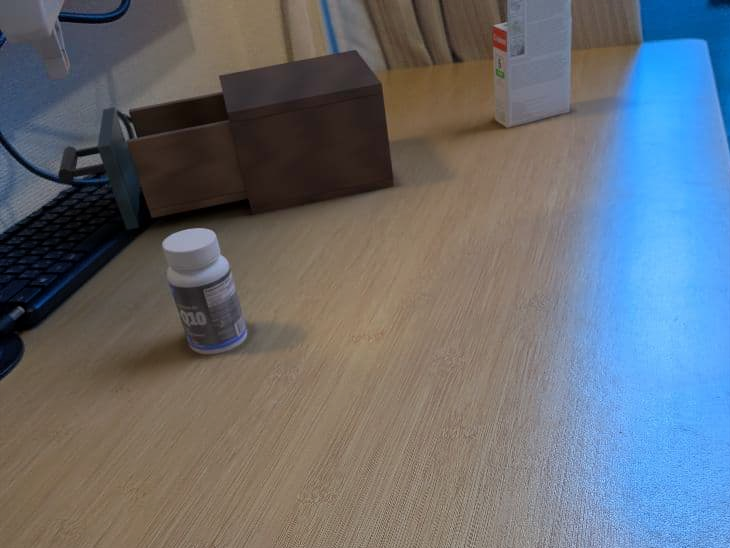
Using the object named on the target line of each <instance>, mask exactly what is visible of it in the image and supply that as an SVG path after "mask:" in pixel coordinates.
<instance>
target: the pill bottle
mask: <svg viewBox="0 0 730 548" xmlns="http://www.w3.org/2000/svg"><path fill="white" fill-rule="evenodd" d="M161 248H162V251H163V254H164V260H165V262H166V264H167V266H168V268H167V270H166V279H167V283H168V286H169V288H170V292H171V295H172V296H173V301H174V304H175V307H176V310H177V312H178V315H179V319H180V322H181V325H182V328H183V331H184V334H185V337H186V341H187V343H188V345H189V347H190V348H191V350H192V351H194V352H195V353H198V354H200V355H201V354H202V355H217V354H222V353H226V352H228V351H230V350H233V349H235V348H237V347H239V346H240V345H241V344H243V343H244V342H245V341H246V339H247V336H248V330H247V326H246V322H245V318H244V314H243V311H242V306H241V301H240V299H239V296H238V293H237V288H236V285H235V280H234V277H233V273H232V269H231V266H230V263H229V261H228V259H227V258H226V257H225V256H223V255H222V252H221V248H220V243H219V241H218V237H217V234H216V233H215V231H213V230H211V229H208V228H204V227H203V228H202V227H201V228H200V227H196V228H188V229H183V230H180V231H177V232H174V233H172V234H170V235H169V236H167V237H166V238H165V239H164V240H163V241H162V244H161Z"/></svg>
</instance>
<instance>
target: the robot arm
mask: <svg viewBox="0 0 730 548" xmlns="http://www.w3.org/2000/svg"><path fill="white" fill-rule="evenodd" d="M64 3H65V0H0V31H1V33H2V35H3V36H4V37H5V39H6V40H7V41H8V43H10V44H12V45H14V44H22V43H23V44H25V43H30V42H32V44H33V45H34V47H35V49H36V51H37V52H38V54H39V57H40V58H41V60H42V62H43V64H44V67H45V70H46V72H47V73H46V74H47V75H48V77H49V78H50V80H53V81H56V80H63V79H66V78H68V76H69V73H70V69H71V63H70V60H69V57H68V54H67V50H66V47H65V41H64V35H63V31H62V26H61V23H60V20H59V15H60V13H61V10H62V8H63V5H64Z"/></svg>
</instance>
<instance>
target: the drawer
mask: <svg viewBox="0 0 730 548" xmlns="http://www.w3.org/2000/svg"><path fill="white" fill-rule="evenodd" d="M128 114H129V117H130V120H131V123H132V127H133V130H134V133H135V136H136V137H134V138H129V139H126V138H125V137H126V136H125V135H124V131H123V128H122V125H121V122H120V120H119V119H120V118H119V117H118V114H117V111H116V108H115V107H109V108H104V109H103V110H102V115H101V123H100V127H99V136H98V141H97V145H95V146H89V147H85V148H80V149H76V148H75V147H74V146H66V147H65V148H64V150H63V153H62V157H61V160H60V161H61V162H60V165H59V169H58V174H57V177H58V179H59V181H61V182H62V183H63V184H67V185H69V184H71V183H73V182H74V178H78V177H79V178H80V177H84V176H90V175H93V174H99V173H106V176H107V179H108V181H109V182H108V183H109V185H110V187H111V190H112V193H113V196H114V197H115V201H116V204H117V207H118V210H119V212H120V216H121V218H122V221H123V224H124V226H125V227H124V228H125V230H127V229H128V230H127V231H129V230H134V229H139V221H138V212H139V213H140V191H142V195H143V198H144V201H145V204H146V207H147V209H148V212H149V215H150V218H151V219H154V218H160V217H165V216H169V215H175V214H179V213H184V212H189V211H195V210H199V209H200V210H201V209H204V208H208V207H213V206H214V207H215V206H220V205H224V204H229V203H234V202H239V201H245V200H248V196H247V191H246V187H245V183H244V179H243V175H242V171H241V167H240V163H239V159H238V155H237V150H236V146H235V142H234V138H233V134H232V130H231V126H230V122H229V118H228V114H227V109H226V105H225V101H224V96H223V92H222V91H219V92H214V93H209V94H203V95H199V96H193V97H188V98H181V99H178V100H177V99H176V100H172V101H167V102H162V103H161V102H160V103H156V104H150V105H145V106H141V107H135V108H130V109H128ZM98 154H99V156H100V160H101V162H102V163H99V164H94V165H93V164H92V165H88V166H82V167H77V164H78V160H79V158H83V157H88V156H93V155H98Z"/></svg>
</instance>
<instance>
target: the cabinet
mask: <svg viewBox="0 0 730 548" xmlns="http://www.w3.org/2000/svg"><path fill="white" fill-rule="evenodd" d="M218 78H219V82H220V83H219V84H220V87H221V92H223V96H224V101H225V105H226V109H227V114H228V118H229V122H230V126H231V130H232V134H233V138H234V142H235V146H236V150H237V155H238V159H239V163H240V167H241V171H242V175H243V179H244V183H245V187H246V191H247V196H248V199H247V201H248V204H249V208H250V211H251V215H252V216H255V215H260V214H265V213H270V212H274V211H275V212H276V211H279V210H285V209H289V208H295V207H299V206H305V205H309V204H313V203H319V202H324V201H329V200H334V199H339V198H344V197H349V196H353V195H359V194H362V193H363V194H364V193H368V192H373V191H377V190H383V189H387V188H392V187H395V181H394V172H393V165H392V163H393V162H392V155H391V147H390V139H389V132H388V122H387V115H386V105H385V97H384V89H383V82H381V80H380V79H379V77H377V75H376V73H374V71H373V70H372V68H370V66H369V65H368V64H367V62H366V61H365V60H364V58H363V57H362V56H361V54H360V53H359V52H358V50H356V49H352V50H348V51H342V52H336V53H331V54H325V55H321V56H315V57H311V58H304V59H300V60H294V61H289V62H283V63H277V64H274V65H268V66H263V67H257V68H251V69H247V70H240V71H235V72H230V73H225V74H221V75H218Z"/></svg>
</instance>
